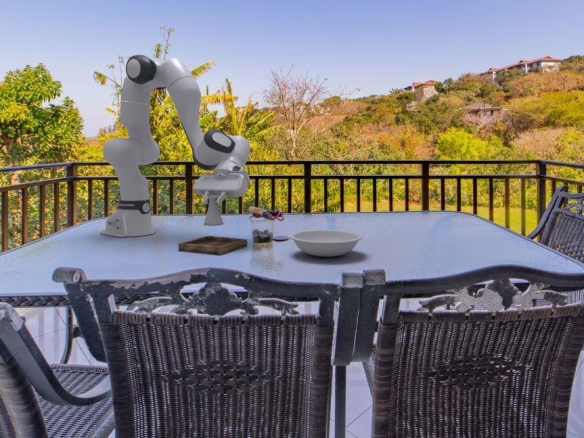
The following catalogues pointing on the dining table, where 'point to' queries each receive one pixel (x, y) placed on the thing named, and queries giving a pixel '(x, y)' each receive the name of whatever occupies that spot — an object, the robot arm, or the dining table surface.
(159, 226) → the dining table surface
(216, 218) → the flask
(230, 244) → the walnut tray
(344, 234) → the soup bowl
